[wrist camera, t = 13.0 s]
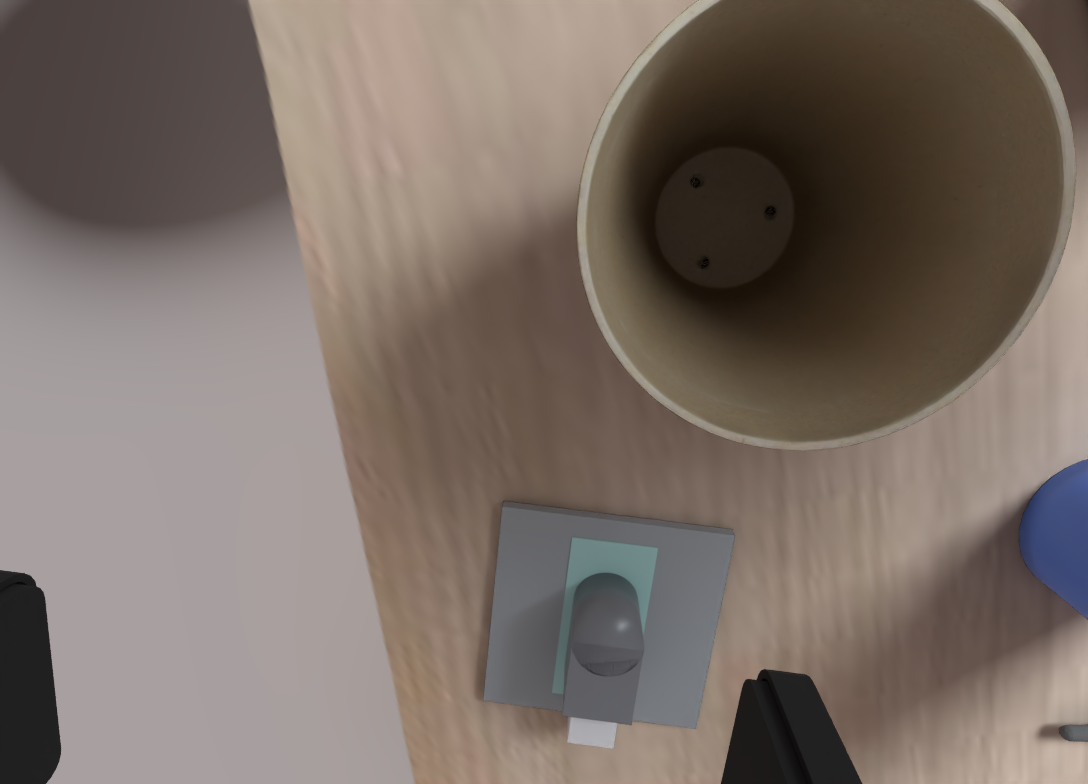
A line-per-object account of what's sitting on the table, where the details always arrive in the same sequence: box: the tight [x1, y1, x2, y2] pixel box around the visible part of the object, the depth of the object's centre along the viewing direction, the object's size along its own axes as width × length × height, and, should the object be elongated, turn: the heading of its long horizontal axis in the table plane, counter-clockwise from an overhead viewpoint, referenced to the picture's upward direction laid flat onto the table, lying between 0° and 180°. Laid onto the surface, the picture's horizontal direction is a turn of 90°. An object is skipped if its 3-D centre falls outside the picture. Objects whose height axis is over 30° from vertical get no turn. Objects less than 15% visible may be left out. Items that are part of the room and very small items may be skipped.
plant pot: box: [576, 0, 1076, 450], centre depth 28 cm, size 15×15×16 cm
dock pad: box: [483, 501, 735, 729], centre depth 42 cm, size 14×14×1 cm
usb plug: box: [562, 573, 644, 749], centre depth 40 cm, size 10×4×4 cm, turn 174°
